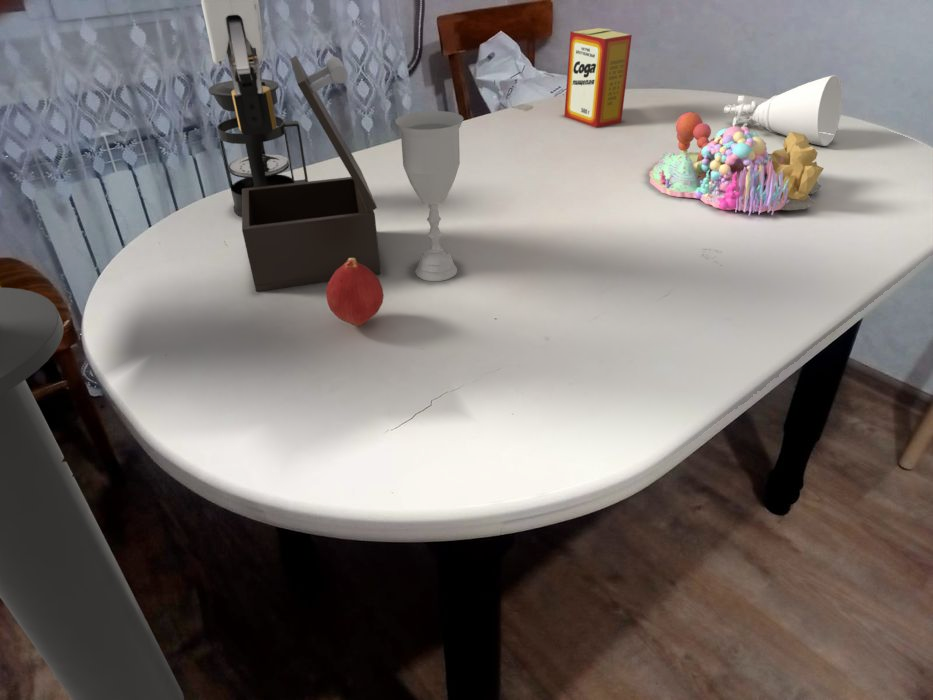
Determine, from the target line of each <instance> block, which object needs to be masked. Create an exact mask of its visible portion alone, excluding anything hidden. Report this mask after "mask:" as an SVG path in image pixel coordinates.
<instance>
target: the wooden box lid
mask: <svg viewBox="0 0 933 700" xmlns="http://www.w3.org/2000/svg"><path fill="white" fill-rule="evenodd" d="M290 64H291V67H292V70H293V72H294V76H295V80H296V83H297V86H298V88H299V89H300V91H301V93H302V95H303V96H304V98H305V100H306V101H307V103H308V105H309V107H310V109H311V111H312V112H313V114H314V115H315V117H316V119H317V120H318V123H319V124H320V126H321V127H322V129H323V131H324V133H325V134H326V136H327V137H328V140H329V141H330V143H331V145H332V146H333V148H334V150H335V152H336V153H337V155H338V157H339V159H340V160H341V162H342V164H343V166H344V167H345V169H346V170H347V172H348V174H349V175H350V176H349V177H352V179H353V181H354V182H355V184H356V186H357V188H358V189H359V191H360V193H361V194H362V196H363V198H364V200H365V201H366V203H367V205H368V207H369V208H370V210H371V211H374V210H376V209H378V206H377V204H376V202H375V199H374V197H373V194H372V192H371V190H370V188H369V185H368V183H367V181H366V179H365V176H364V174H363V172H362V169H361V168H360V166H359V164H358V162H357V161H356V159H355V157H354V155H353V154H352V151H351V149H350V148H349V146H348V144H347V142H346V140H345V139H344V137H343V136H342V134H341V132H340V131H339V129H338V126H337V125H336V123H335V121H334V120H333V117H332V116H331V115H330V113H329V111H328V109H327V107H326V106H325V104H324V102H323V100H322V98H321V96H320V95H319V93H318V92H317V91H320V90H321V89H323V88H325V87H326V86H329V85H331V84H332V83H335V84H338V85H341V84H344V83H346V81H347V80H348V77H349V74H348V73H349V72H348V71H347V68H346V67H345V65H344V63H343V62H342V60H341V59H340V58H339V57H338V56H330V57H328V58H327V60H326V62H325V66H324V67H322V68H320V69H318V70H316V71H315V72H313V73H311V74H310V75H308V74H307V71H306V70H305V69H304V67H303V65H302V63H301V62H300V60H299V58H298V57H297V55H295V56H293V57H291V58H290Z"/></svg>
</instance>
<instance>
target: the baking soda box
mask: <svg viewBox="0 0 933 700" xmlns="http://www.w3.org/2000/svg"><path fill="white" fill-rule="evenodd" d="M631 44H632V34H629V33H624V32H619V31H615V30H613V29H611V28H601V27H594V28H593V27H592V28H586V29H580V30H573V31H570V34H569V45H568V46H569V47H568V48H569V49H568V60H567V73H566V89H565V103H564V117H565V118H568V119H571V120H574V121H577V122H579V123H582V124H585V125H588V126H591V127H594V128H596V129H597V128H601V127H607V126H610V125H614V124H618V123H622V121H623V111H624V102H625V95H626V88H627V87H626V86H627V79H628V78H627V77H628V69H629V61H630V53H631V46H632V45H631Z"/></svg>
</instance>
